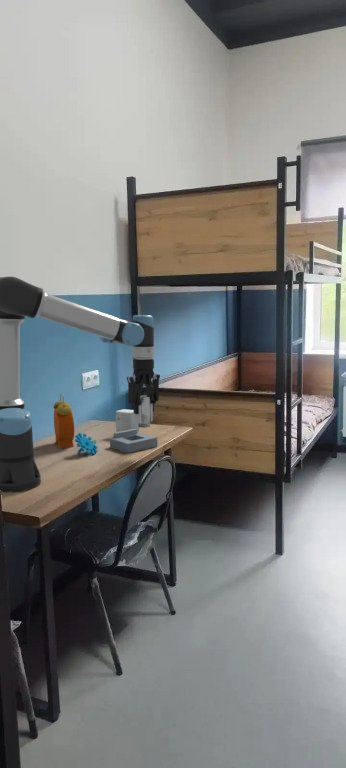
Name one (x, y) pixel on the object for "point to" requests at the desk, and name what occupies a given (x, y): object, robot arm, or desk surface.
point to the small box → (125, 420)
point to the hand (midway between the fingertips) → (144, 421)
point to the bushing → (145, 411)
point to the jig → (132, 441)
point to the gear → (86, 444)
